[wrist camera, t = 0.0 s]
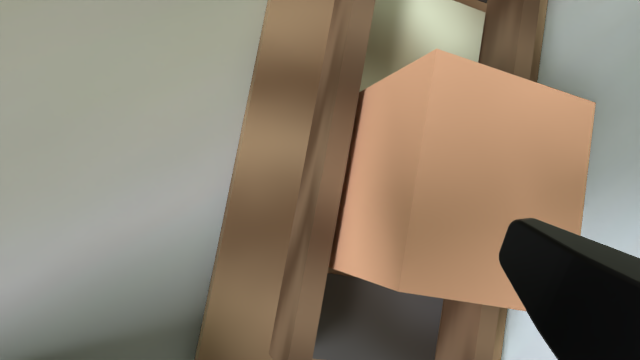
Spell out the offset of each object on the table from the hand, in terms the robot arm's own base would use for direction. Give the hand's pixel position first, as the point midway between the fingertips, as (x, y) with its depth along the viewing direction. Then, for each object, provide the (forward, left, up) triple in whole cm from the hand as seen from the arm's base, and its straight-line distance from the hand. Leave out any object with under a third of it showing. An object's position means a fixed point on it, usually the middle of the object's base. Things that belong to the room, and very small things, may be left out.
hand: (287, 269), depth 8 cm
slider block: (-4, -9, -14) cm, 17 cm away
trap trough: (-1, -11, -15) cm, 19 cm away
